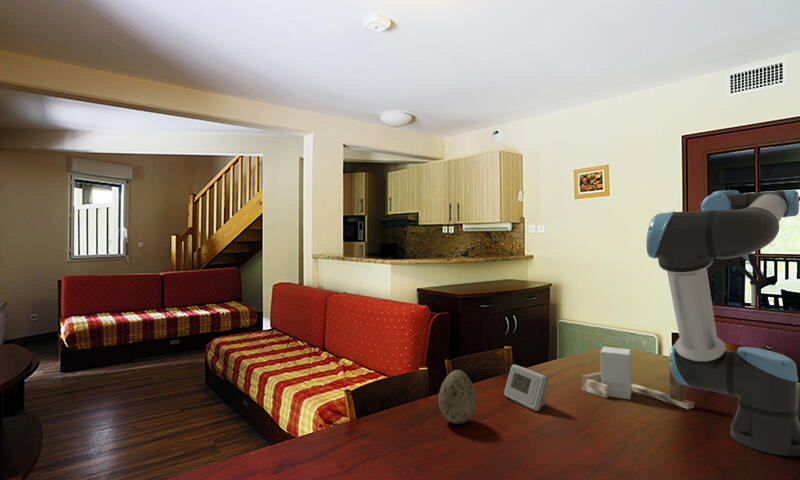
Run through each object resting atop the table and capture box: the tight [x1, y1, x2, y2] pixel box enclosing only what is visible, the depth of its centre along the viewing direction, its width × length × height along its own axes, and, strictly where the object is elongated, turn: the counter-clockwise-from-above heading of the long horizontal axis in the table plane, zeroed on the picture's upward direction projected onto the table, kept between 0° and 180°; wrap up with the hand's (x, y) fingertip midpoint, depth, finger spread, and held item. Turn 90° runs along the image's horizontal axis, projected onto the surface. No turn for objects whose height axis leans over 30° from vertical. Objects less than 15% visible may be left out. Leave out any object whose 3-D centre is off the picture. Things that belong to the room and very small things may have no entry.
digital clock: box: [503, 364, 548, 412], centre depth 140 cm, size 16×9×11 cm, turn 14°
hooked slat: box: [581, 367, 695, 410], centre depth 144 cm, size 28×18×12 cm, turn 26°
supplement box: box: [599, 346, 633, 400], centre depth 149 cm, size 9×9×15 cm
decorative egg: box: [438, 369, 477, 425], centre depth 125 cm, size 11×11×15 cm
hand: (726, 304), depth 141 cm, fingers open, 13 cm apart
